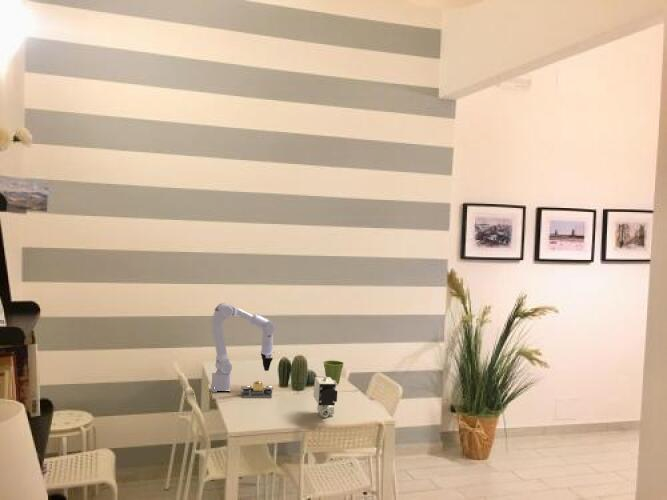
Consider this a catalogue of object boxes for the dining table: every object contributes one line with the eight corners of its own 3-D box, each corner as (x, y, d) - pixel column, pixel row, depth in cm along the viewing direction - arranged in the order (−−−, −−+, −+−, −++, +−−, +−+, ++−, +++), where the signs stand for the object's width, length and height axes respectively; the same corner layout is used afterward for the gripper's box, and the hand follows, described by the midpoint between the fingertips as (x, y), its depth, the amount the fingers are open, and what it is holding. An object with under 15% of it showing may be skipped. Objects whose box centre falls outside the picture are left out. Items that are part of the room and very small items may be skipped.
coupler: (253, 394, 301) (253, 383, 301) (252, 391, 305) (253, 380, 304) (262, 394, 302) (262, 383, 301) (261, 391, 305) (262, 381, 305)
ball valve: (337, 421, 269) (339, 381, 268) (318, 421, 267) (321, 381, 267) (329, 409, 287) (331, 371, 286) (312, 409, 285) (314, 371, 284)
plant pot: (343, 380, 341) (345, 361, 341) (342, 386, 329) (343, 365, 329) (323, 379, 342) (324, 359, 342) (320, 384, 330) (321, 364, 330)
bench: (241, 397, 297) (241, 388, 297) (240, 392, 307) (240, 383, 306) (273, 397, 300) (274, 388, 300) (272, 392, 310) (272, 383, 309)
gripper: (276, 346, 311) (274, 372, 311) (273, 340, 325) (272, 365, 325) (262, 345, 309) (260, 372, 310) (260, 340, 323) (259, 365, 324)
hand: (265, 368), depth 317 cm, fingers open, 7 cm apart
